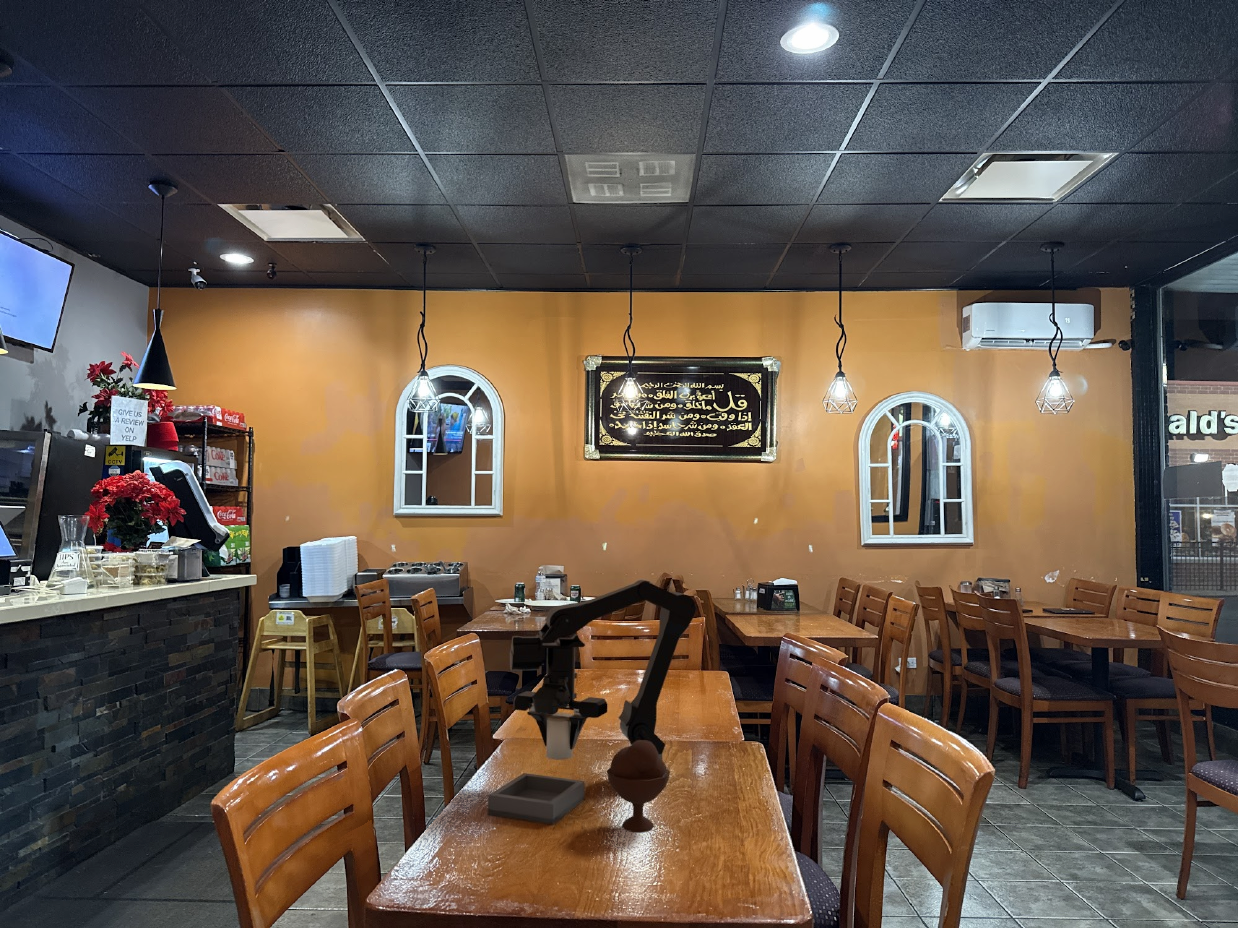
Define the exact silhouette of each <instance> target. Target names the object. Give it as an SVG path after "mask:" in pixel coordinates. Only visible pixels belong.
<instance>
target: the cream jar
mask: <svg viewBox="0 0 1238 928" xmlns="http://www.w3.org/2000/svg"><path fill="white" fill-rule="evenodd" d="M572 715H573V714H572V713H568V712H557V713H555V714H548V715H547V747H546V758H548V759H550V760H557V761H560V760H561V761H562V760H568V759H571V758H572V757H573V749H570V731H571V722H570V719H569V717H571V716H572Z"/></svg>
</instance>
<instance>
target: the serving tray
mask: <svg viewBox="0 0 1238 928" xmlns="http://www.w3.org/2000/svg"><path fill="white" fill-rule="evenodd" d="M585 783H586V781H584V780H581V779H580V780H579V779H573V778H564V777H558V776H548V775H541V774H534V773H527V772H526V773H525V772H523V773H522V774H520V775H518V776H516V778H514V779H512V780H510V781H508V782H507V783H505V784H504V785H502V786H500V787H499V788H497V789H496V790H494V791H492V792H491V793H489V794H488V796H487V797H488V801H487V803H488V805H487V815H489V816H494V817H500V818H506V819H507V818H508V819H513V820H519V821H520V820H521V821H525V822H531V823H532V822H533V823H539V824H544V825H551V826H554V825H555V824H556V823H558V822H559V821H560V820H561V819H563V817H565V816H566V815H567V814H568V813H570V812H571V811H572V810H574V809H575V808H577V806H579V804H581V803H583V802H584V801H585V788H586V787H585Z"/></svg>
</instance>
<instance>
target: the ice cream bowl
mask: <svg viewBox="0 0 1238 928" xmlns="http://www.w3.org/2000/svg"><path fill="white" fill-rule="evenodd" d="M606 772H607V773H606V774H607V779H608V782H609V784H610V786H611V788H612V789H613V790H614V791H615V792H616V794H618V796H619V797H620V798H621V799H623V800H624V801H625V802H629V803H631V804H632V808H633V810H632V811H633V812H632V816H630V817H629V818H627V819H625V820H624V821H623V822H622V825H621V826H622V828H623V830H625V831H628V832H632V833H645V832H649V831H651V830H652V829H654V827H655V826H654V823H653V821H652V820H650V819H649V818H647V817H645V816H644V806H645V804H646V803H649V802H651V801H653V800H655V799H656V798H657V797H658V796H659V795H660V793H662V792H663V790H664V789H666V787H667V784H668V782H669V779H670V774H671V771H670V770H669V769H668V767H667V766H666V764H665V762H664V761H663V759H662V760H661V759H660V758H659V754H658V751H657V749H656V747H655V746H654V745H653V744H652V742H650V741H647V740H637V741H635V742H634V743H633V744H632V745H631V744H630V745H629V746H625V747H623V748H620V749H619V750H618V751H617V752H616V753H615V754H614V756H613V757H612V759H611V762H610V767H609V769H606ZM652 831H653V830H652Z"/></svg>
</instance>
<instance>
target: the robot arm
mask: <svg viewBox="0 0 1238 928" xmlns="http://www.w3.org/2000/svg"><path fill="white" fill-rule="evenodd" d="M644 601H646V602H648V603H649V604H652V605H654V606H656V607H658V608H660V612H659V627H658V628H659V630H658V634H657V637H656V640H655V642H654V645H653V648H652V651H651V654H650V657H649V659H648V662H647V665H646V669H645V671H644V674H643V677H642V680H641V683H640V686H639V689H638V691H637V694H636V696H635V697H634V698H633V699H632V701H631V702H630V701H629V700H624V701H623V702H624V703H623V707H622V712H621V714H620V715H619V716H618V719H619V721H620V722H619V729H620V731H621V733H622V734H623V736H624V737H625V738H626V739H627V740H628V741H629V744H630V746H631V745H632V744H633V743H634V742H635V741H637V740H647V741H650V742H652V744H653V745H654V746H655V747H656V749H657V751H658V754H659V758H660V759H661V760H663V753H664V750H665V747H666V744H665V742H664V741H663V739H661V738H660V737H659V736H658V735H657V734H656V733H655V731H656V726H657V725H656V724H657V717H658V715H657V714H658V713H657V710H658V709H657V706H658V701H659V698H660V695H661V693H662V689H663V686H664V683H665V680H666V677H667V675H668V672H669V669H670V666H671V663H672V660H673V657H674V656H675V655H674V654H675V652H676V649H677V646H678V642H679V640H680V638H681V637H682V636H683V634H684V633H685V632H686V631H687V629H688V628H689V627H690V625H691V623H692V621H693V619H694V617H695V615H696V612H697V604H696V603H695V600H694V598H692V597H691V596H690V595H688V594H685V593H681V592H678V591H672V592H671V591H668V590H667V589H664V588H662V587H660V586H658V585H655V584H654V583H653V582H651V581H649V580H646V579H639V580H636V581H634V583H632V584H628V585H625V586H624V587H621V588H618V589H616V590H613V591H610V592H608V593H605V594H603V595H599V596H598V597H597V596H596V597H594V598H591V599H589V600H587V601H581V602H573V603H567V604H561V605H557V606H554V607H552V608H550V610H548V613H547V614H546V617H545V618H546V619H545V623H544V624H543V626H542V627H541V628H540V630H539V631H538V632H537V634H536V635H535V636H520V635H512V637H511V643H510V644H511V645H510V650H509V669H510V671H511V672H512V671H513V672H514V671H539V670H540V667H543V666H544V665H545V662H546V675H543V681H542V685H541V687H539V688H538V689H537V690H536V691H524V692H521V693H519V694H517V695H515V697H514V699H513V705H512V706H513V710H515V711H522V712H523V711H524V712H526V711H527V712H526V714H527V715H528V716H530V717H532V718H533V719H534V720H535V722H536V724H537V727H538V728H539V732H540V735H541V738H542V740H543V743H544V747H546V748H547V715H548V714H555V713H559V710H569V711H573V714H572V716H571V717H569V719H570V722H571V731H570V749H572V750H574V749H575V747H576V745H577V742H578V739H579V737H580V734H581V732H582V729H583V727H584V725H585V723H586V722H587V719H589V718H591V719H597V718H600V717H602V716H604V715H606V714H607V713H608V702H607V701H606V699H605V697H602V698H601V697H592V696H588V697H587V698H584V699H582V700H576V699H578V693H577V692H575V683H576V681H575V679H577V678H578V672H576V671H575V669H576V668H575V667H576V648H584V647H585V646H586V644H585V642H583V641H582V640H581V638H580V637H579V635H578V634H576V632H579V631H580V630H582V629H583V628H584V627H587V626H588V624H589V623H591V622H593V621H594V620H597V619H599V618H602V617H604V616H605V617H606V616H607V615H609V614H612V613H615V612H617V611H620V610H623V609H626V608H628V607H630V606H633V605H636V604H638V603H641V602H644ZM570 636H572V637H570ZM568 637H569V638H568ZM555 641H556V642H555Z"/></svg>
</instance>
